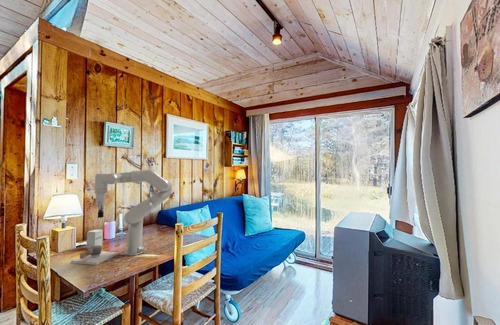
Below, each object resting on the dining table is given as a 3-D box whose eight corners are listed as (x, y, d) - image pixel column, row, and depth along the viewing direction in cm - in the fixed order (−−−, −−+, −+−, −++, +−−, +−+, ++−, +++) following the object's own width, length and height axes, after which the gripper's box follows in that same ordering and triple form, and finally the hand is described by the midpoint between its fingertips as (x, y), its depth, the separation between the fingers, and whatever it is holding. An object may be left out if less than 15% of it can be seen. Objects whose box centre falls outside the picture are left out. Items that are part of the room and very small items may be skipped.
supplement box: (94, 249, 173) (95, 232, 173) (86, 248, 175) (86, 231, 175) (102, 246, 180) (103, 229, 181) (94, 245, 182) (95, 229, 182)
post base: (117, 254, 163) (117, 250, 163) (95, 265, 145) (95, 260, 145) (93, 252, 166) (93, 248, 166) (68, 263, 148) (68, 258, 148)
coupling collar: (94, 251, 159) (94, 245, 160) (103, 252, 159) (103, 245, 159) (76, 260, 144) (76, 253, 144) (86, 260, 144) (86, 253, 144)
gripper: (96, 190, 170) (96, 215, 170) (92, 192, 157) (92, 220, 156) (108, 190, 173) (108, 215, 173) (106, 191, 160) (105, 219, 159)
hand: (100, 217), depth 164 cm, fingers closed
